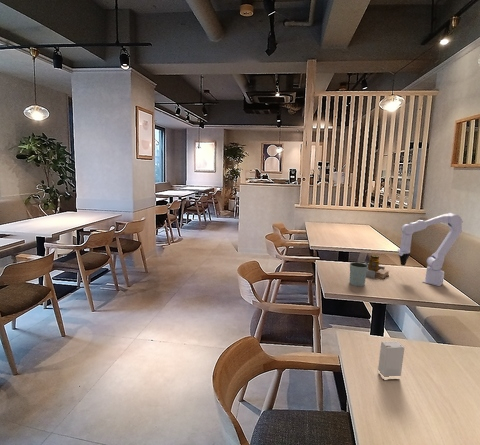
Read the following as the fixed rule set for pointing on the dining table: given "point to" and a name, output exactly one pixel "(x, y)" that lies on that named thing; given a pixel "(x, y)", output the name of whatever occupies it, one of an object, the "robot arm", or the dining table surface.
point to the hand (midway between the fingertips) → (402, 265)
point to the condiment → (373, 263)
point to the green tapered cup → (358, 273)
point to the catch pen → (372, 273)
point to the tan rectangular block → (381, 273)
